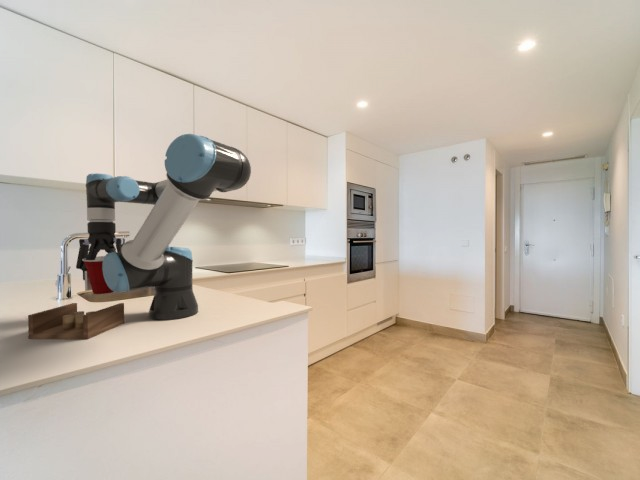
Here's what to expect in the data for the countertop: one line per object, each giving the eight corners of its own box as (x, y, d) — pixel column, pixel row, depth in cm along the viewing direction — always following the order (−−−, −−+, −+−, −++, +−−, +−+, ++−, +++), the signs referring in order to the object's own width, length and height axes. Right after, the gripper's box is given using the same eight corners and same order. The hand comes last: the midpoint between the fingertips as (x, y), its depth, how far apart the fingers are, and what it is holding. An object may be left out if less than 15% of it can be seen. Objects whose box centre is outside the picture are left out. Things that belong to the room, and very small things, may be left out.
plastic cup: (77, 297, 92) (76, 258, 92) (89, 291, 103) (88, 256, 102) (118, 294, 96) (117, 256, 96) (126, 288, 106) (125, 255, 106)
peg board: (124, 323, 93) (124, 303, 92) (88, 339, 79) (87, 315, 78) (73, 322, 93) (73, 303, 93) (28, 338, 79) (28, 315, 79)
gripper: (140, 221, 103) (142, 287, 103) (79, 223, 103) (81, 288, 104) (126, 220, 95) (128, 291, 95) (59, 222, 96) (61, 292, 96)
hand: (103, 289), depth 99 cm, fingers closed on plastic cup, 9 cm apart
